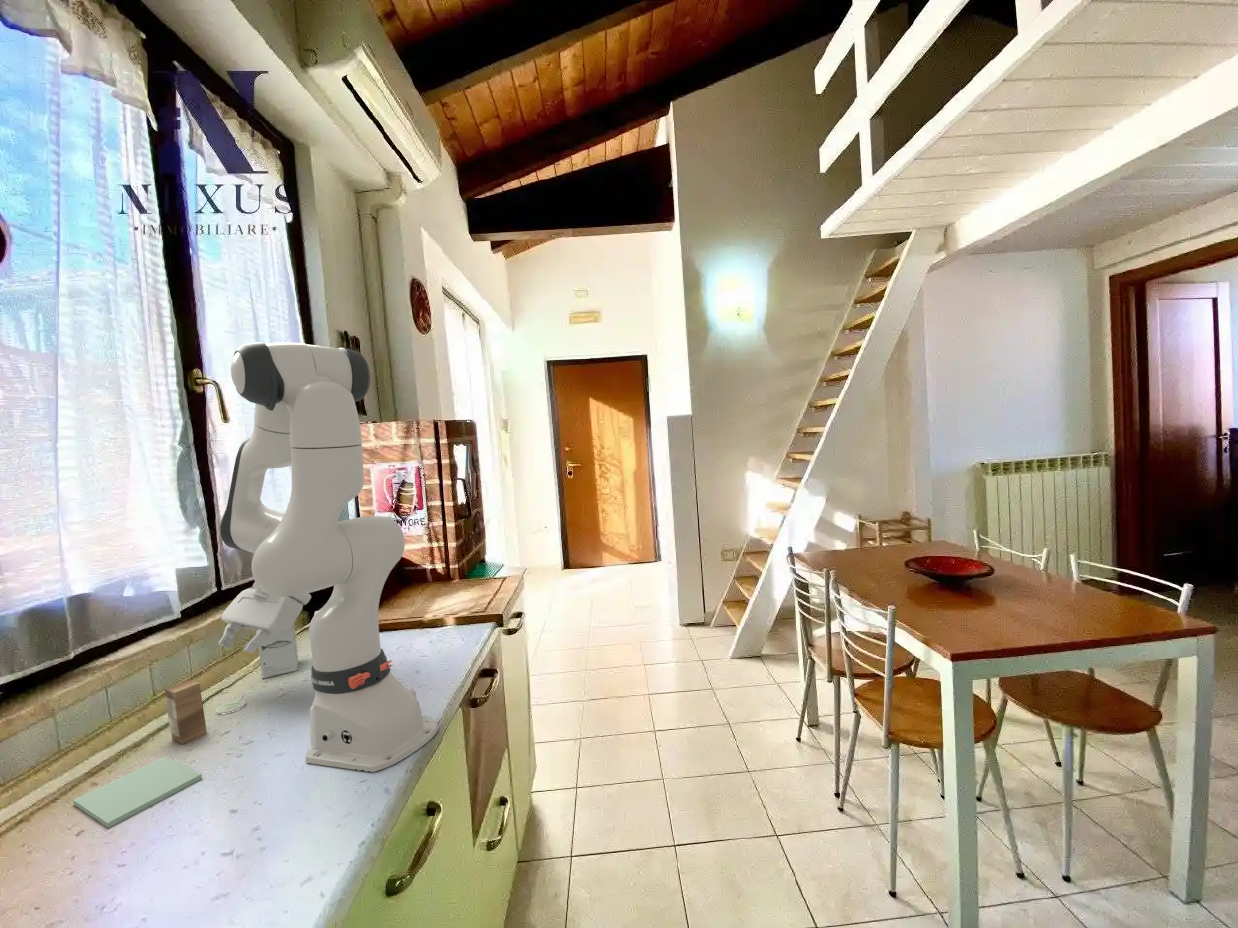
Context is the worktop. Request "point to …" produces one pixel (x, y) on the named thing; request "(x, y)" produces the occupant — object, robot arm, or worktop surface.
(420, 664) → the worktop surface
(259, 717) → the worktop surface
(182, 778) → the rubber mat
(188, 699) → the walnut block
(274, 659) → the supplement box
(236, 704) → the sign
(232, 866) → the worktop surface
